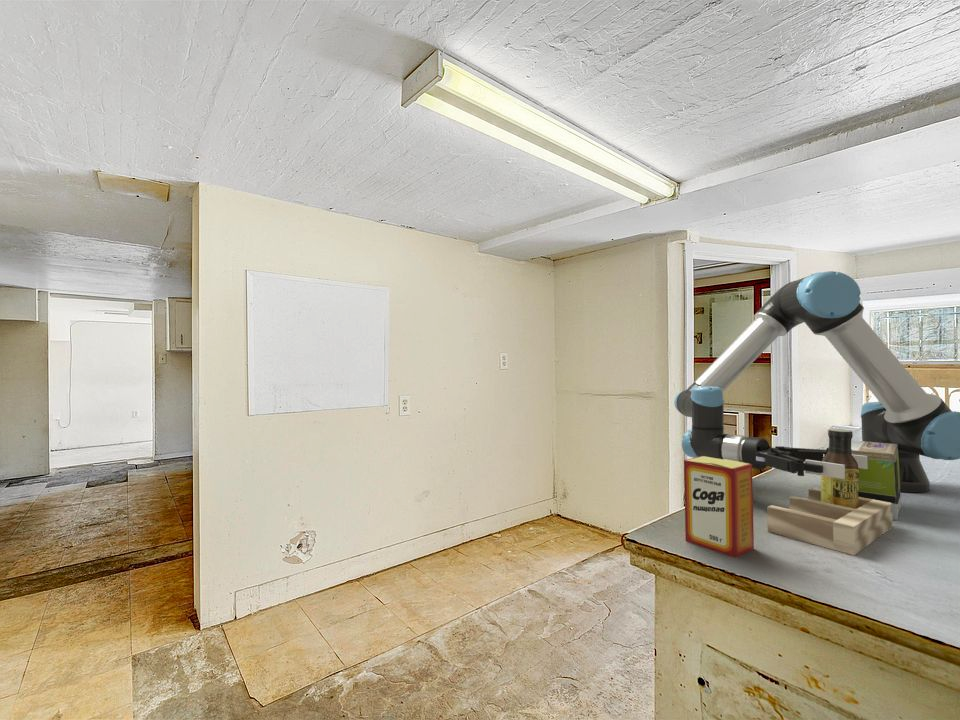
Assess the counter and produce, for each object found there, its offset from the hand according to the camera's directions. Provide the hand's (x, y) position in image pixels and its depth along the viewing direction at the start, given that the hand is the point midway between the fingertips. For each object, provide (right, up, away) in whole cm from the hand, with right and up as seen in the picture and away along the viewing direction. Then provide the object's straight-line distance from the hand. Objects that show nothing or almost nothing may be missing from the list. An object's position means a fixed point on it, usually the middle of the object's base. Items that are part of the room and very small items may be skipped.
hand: (856, 467), depth 92 cm
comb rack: (-6, -13, -1) cm, 14 cm away
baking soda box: (-32, -13, -7) cm, 36 cm away
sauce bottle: (-1, -13, +2) cm, 13 cm away
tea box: (+14, -13, +12) cm, 22 cm away
